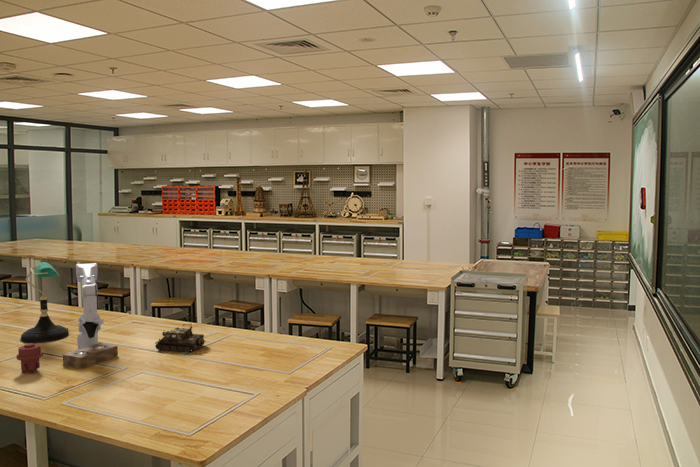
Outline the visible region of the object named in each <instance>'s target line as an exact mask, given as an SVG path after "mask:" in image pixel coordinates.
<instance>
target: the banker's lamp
mask: <svg viewBox="0 0 700 467" xmlns="http://www.w3.org/2000/svg"><path fill="white" fill-rule="evenodd" d="M29 269H30V272H29V273H28V274H27V276H26V277H25V281H26V282H27V284H28V285H30V286H32V287H33V288H34V289H35V290H37V291H38V292H40V293H41V295H40V297H39V303H40V304H39V306H40V308H39V309H40V315H39V319H38V321H37V322H36V324H35V325H34V327H31V328H29V329H27V330H26V331H23V333H22V334H21V336H20V342H23V343H26V344H29V343H34V344H39V343H49V342H55V341H58V340H62V339H64V338H67V337H68V336H69V335H70V332H69V328H68V327H64V326H63V325H58V324H55V323H54V322H53V321H52V319H51V318H50V316H49V313H48V310H49V309H48V296H47V295H46V292H44V291H42V290H41V289H40V288H38V287H37V286H35V285H34V284H32V283H31V282H30V281H29V280H28V278H29V277H30V276H31V275H35V276H36V278H37V279H43V278H44V279H45V278H56V277H60V274H59V273H58V272H57V270H56V269H55V268H54V267H53V266H52V265H51V264H50V263H48V262H38V264H37V265H36V267H35V266H34V267H30V268H29ZM33 269H35V270H33Z"/></svg>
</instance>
